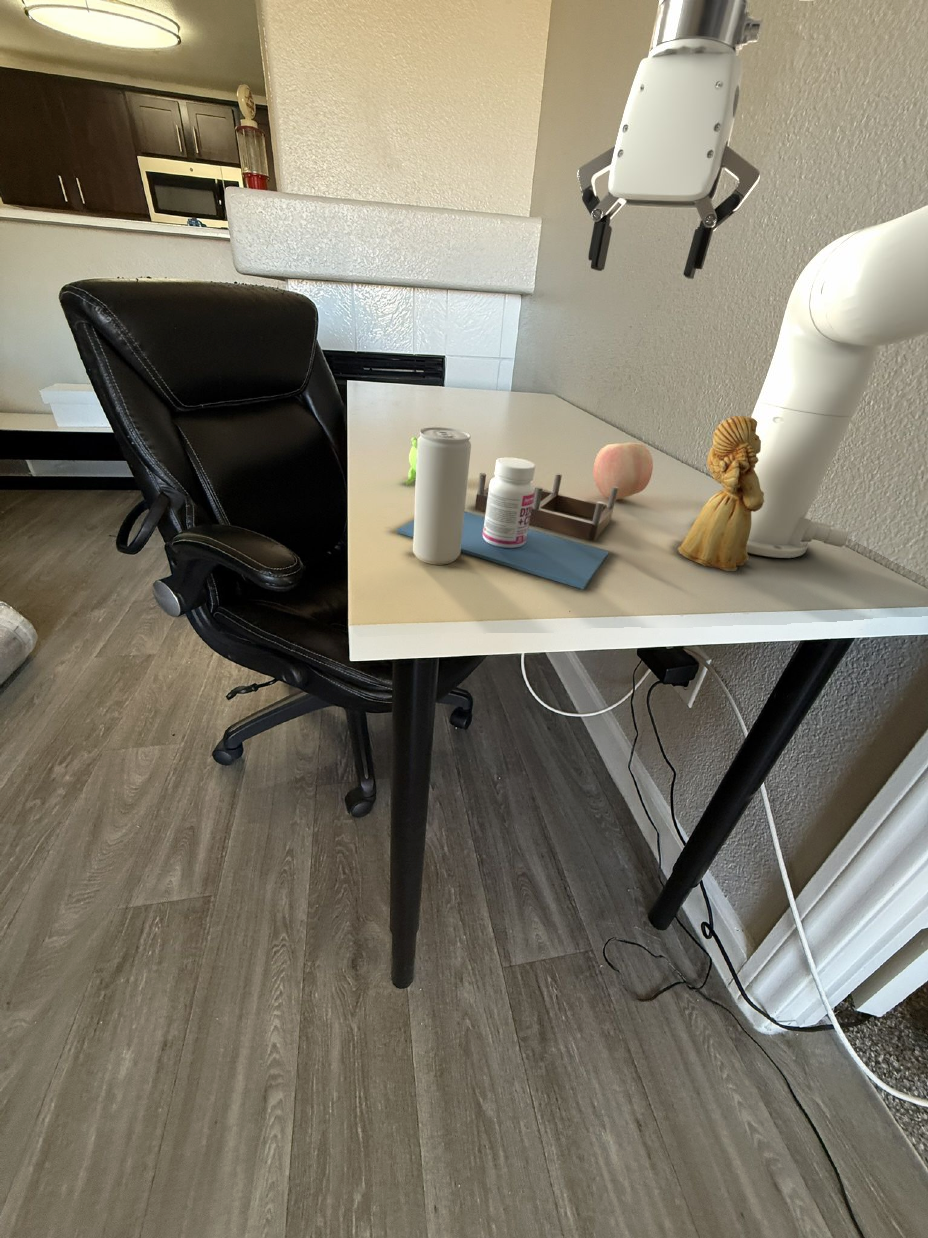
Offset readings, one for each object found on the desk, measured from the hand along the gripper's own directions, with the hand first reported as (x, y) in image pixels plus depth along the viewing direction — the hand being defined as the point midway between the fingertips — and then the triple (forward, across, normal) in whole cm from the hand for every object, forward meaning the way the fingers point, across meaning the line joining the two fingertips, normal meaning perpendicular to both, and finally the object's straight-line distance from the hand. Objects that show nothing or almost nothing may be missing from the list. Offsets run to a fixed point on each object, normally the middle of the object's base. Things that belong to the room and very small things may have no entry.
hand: (641, 273), depth 55 cm
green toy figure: (+26, +22, +4) cm, 35 cm away
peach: (+26, -2, -8) cm, 28 cm away
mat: (+26, +4, +18) cm, 32 cm away
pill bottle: (+26, +4, +18) cm, 32 cm away
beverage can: (+26, +9, +25) cm, 37 cm away
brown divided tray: (+26, +4, +6) cm, 27 cm away
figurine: (+26, -16, +5) cm, 31 cm away
